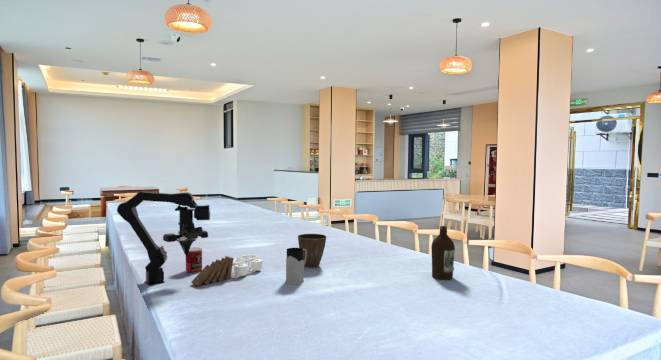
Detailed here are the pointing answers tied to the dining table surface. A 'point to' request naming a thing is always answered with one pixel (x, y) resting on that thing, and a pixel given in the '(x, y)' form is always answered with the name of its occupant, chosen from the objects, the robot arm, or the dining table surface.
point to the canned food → (194, 260)
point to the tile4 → (223, 269)
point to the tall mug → (295, 265)
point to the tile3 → (217, 270)
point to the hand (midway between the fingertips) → (186, 254)
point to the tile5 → (228, 268)
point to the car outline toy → (242, 268)
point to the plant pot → (312, 248)
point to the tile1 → (202, 275)
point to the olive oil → (442, 256)
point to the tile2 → (215, 266)
